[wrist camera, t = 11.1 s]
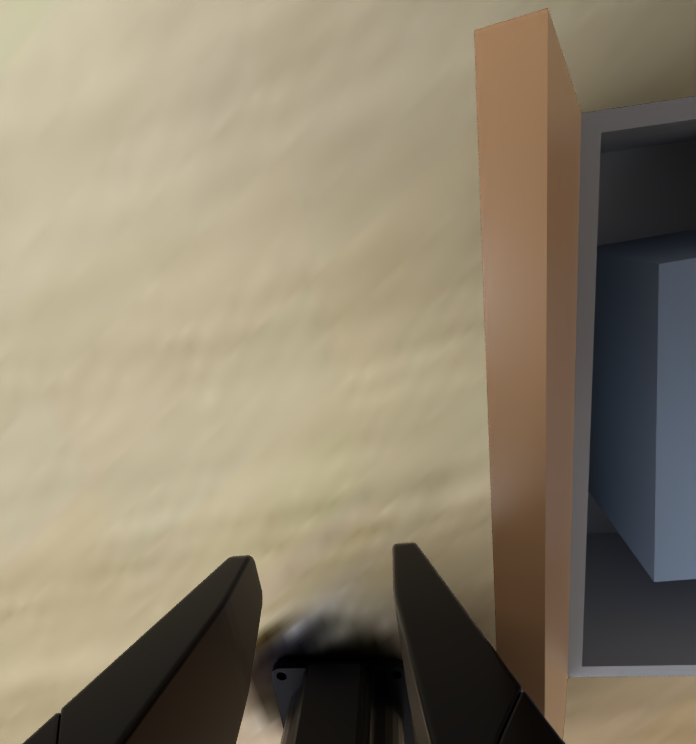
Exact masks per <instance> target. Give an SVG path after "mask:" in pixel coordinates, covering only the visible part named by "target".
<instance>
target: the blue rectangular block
mask: <svg viewBox="0 0 696 744" xmlns="http://www.w3.org/2000/svg"><path fill="white" fill-rule="evenodd" d="M588 491H589V493H590V494H591V495H592V497H593V498H594V499H595V501H596V502H597V504H598V505H599V506H600V508H601V509H602V511H603V512H604V513H605V515H606V516H607V518H608V519H609V520H610V522H611V523H612V524H613V526H614V527H615V529H616V530H617V531H618V533H619V534H620V536H621V537H622V538H623V540H624V541H625V542H626V544H627V545H628V547H629V548H630V549H631V551H632V552H633V554H634V555H635V556H636V558H637V559H638V560H639V562H640V563H641V565H642V566H643V567H644V569H645V570H646V572H647V573H648V574H649V576H650V577H651V579H652V580H653V581H654V582H662V581H675V580H687V579H696V231H692V230H687V231H681V232H675V233H670V234H664V235H658V236H652V237H647V238H641V239H635V240H629V241H623V242H618V243H612V244H606V245H600V246H597V261H596V289H595V317H594V345H593V372H592V400H591V428H590V456H589V483H588Z"/></svg>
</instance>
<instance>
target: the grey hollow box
mask: <svg viewBox="0 0 696 744" xmlns="http://www.w3.org/2000/svg"><path fill="white" fill-rule="evenodd" d="M687 230H692V231H696V96H693V97H687V98H680V99H673V100H667V101H660V102H653V103H647V104H640V105H633V106H627V107H620V108H613V109H607V110H600V111H593V112H587V113H581V153H580V195H579V236H578V277H577V318H576V360H575V401H574V442H573V483H572V525H571V566H570V607H569V649H568V677H627V676H696V579H687V580H675V581H662V582H654V581H653V580H652V579H651V577H650V576H649V574H648V573H647V572H646V570H645V569H644V567H643V566H642V565H641V563H640V562H639V560H638V559H637V558H636V556H635V555H634V554H633V552H632V551H631V549H630V548H629V547H628V545H627V544H626V542H625V541H624V540H623V538H622V537H621V536H620V534H619V533H618V531H617V530H616V529H615V527H614V526H613V524H612V523H611V522H610V520H609V519H608V518H607V516H606V515H605V513H604V512H603V511H602V509H601V508H600V506H599V505H598V504H597V502H596V501H595V499H594V498H593V497H592V495H591V494H590V493H589V491H588V483H589V456H590V428H591V400H592V372H593V345H594V317H595V289H596V261H597V246H600V245H606V244H612V243H618V242H623V241H629V240H635V239H641V238H647V237H652V236H658V235H664V234H670V233H675V232H681V231H687Z"/></svg>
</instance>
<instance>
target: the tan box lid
mask: <svg viewBox="0 0 696 744" xmlns="http://www.w3.org/2000/svg"><path fill="white" fill-rule="evenodd" d="M474 37H475V65H476V92H477V120H478V148H479V175H480V203H481V230H482V258H483V286H484V313H485V341H486V369H487V396H488V424H489V452H490V479H491V507H492V534H493V562H494V590H495V617H496V645H497V654H498V655H499V657H500V658H501V659H502V661H503V662H504V663H505V665H506V666H507V667H508V669H509V670H510V672H511V673H512V674H513V676H514V677H515V678H516V680H517V681H518V682H519V684H520V685H521V686H522V688H523V692H526V693H527V694H528V696H529V697H530V698H531V700H532V701H533V702H534V704H535V705H536V706H537V708H538V709H539V710H540V712H541V713H542V715H543V716H544V717H545V718H546V720H547V721H548V722H549V724H550V725H551V726H552V727H553V729H554V730H555V731H556V733H557V734H558V735H559V736H560V738H561V739H562V740H563V734H564V721H565V708H566V695H567V682H568V649H569V607H570V566H571V525H572V483H573V442H574V401H575V360H576V318H577V277H578V236H579V195H580V153H581V110H580V107H579V104H578V100H577V97H576V94H575V91H574V88H573V85H572V82H571V79H570V75H569V72H568V69H567V66H566V63H565V60H564V57H563V54H562V51H561V47H560V44H559V41H558V38H557V35H556V32H555V29H554V26H553V22H552V19H551V16H550V13H549V10H548V8H546V9H543V10H540V11H537V12H533V13H530V14H527V15H524V16H520V17H517V18H514V19H511V20H507V21H504V22H501V23H497V24H494V25H491V26H488V27H484V28H481V29H478V30H475V31H474Z"/></svg>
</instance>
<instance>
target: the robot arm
mask: <svg viewBox="0 0 696 744" xmlns="http://www.w3.org/2000/svg"><path fill="white" fill-rule="evenodd" d="M393 589H394V599H395V606H396V614H397V621H398V628H399V635H400V643H401V650H402V657H403V661H401V660H398V659H372V660H313V661H279V662H277V663H275V664H274V666H273V670H272V675H271V677H272V681H273V685H274V690H275V694H276V698H277V703H278V707H279V711H280V716H281V720H282V724H283V729H284V730H283V735H282V739H281V744H416V743H415V735H416V740H417V744H565V743H564V741H563V740H562V739H561V738H560V736H559V735H558V734H557V733H556V731H555V730H554V729H553V727H552V726H551V725H550V724H549V722H548V721H547V720H546V718H545V717H544V716H543V715H542V713H541V712H540V710H539V709H538V708H537V706H536V705H535V704H534V702H533V701H532V700H531V698H530V697H529V696H528V694H527V693H526V692H523V688H522V686H521V685H520V684H519V682H518V681H517V680H516V678H515V677H514V676H513V674H512V673H511V672H510V670H509V669H508V667H507V666H506V665H505V663H504V662H503V661H502V659H501V658H500V657H499V655H498V654H497V653H496V651H495V650H494V648H493V647H492V646H491V644H490V643H489V642H488V640H487V639H486V638H485V636H484V635H483V634H482V632H481V631H480V629H479V628H478V627H477V625H476V624H475V623H474V621H473V620H472V619H471V617H470V616H469V615H468V613H467V612H466V610H465V609H464V608H463V606H462V605H461V604H460V602H459V601H458V600H457V598H456V597H455V596H454V594H453V593H452V591H451V590H450V589H449V587H448V586H447V585H446V583H445V582H444V581H443V579H442V578H441V577H440V575H439V574H438V572H437V571H436V570H435V568H434V567H433V566H432V564H431V563H430V562H429V560H428V559H427V558H426V556H425V555H424V553H423V552H422V551H421V549H420V548H419V547H418V545H417V544H416V543H412V542H411V543H399V544H395V545H393ZM261 609H262V589H261V585H260V581H259V577H258V573H257V569H256V565H255V561H254V559H253V557H251V556H250V555H245V556H233V557H230V558H228V559H227V560H226V561H225V562H223V563H222V564H221V565H220V566H219V567H218V568H217V569H216V570H215V571H214V572H212V573H211V574H210V575H209V576H208V577H207V578H206V579H205V580H204V581H202V582H201V583H200V584H199V585H198V586H197V587H196V588H195V589H194V590H192V591H191V592H190V593H189V594H188V595H187V596H186V597H185V598H184V599H183V600H181V601H180V602H179V603H178V604H177V605H176V606H175V607H174V608H173V609H171V610H170V611H169V612H168V613H167V614H166V615H165V616H164V617H163V618H161V619H160V620H159V621H158V622H157V623H156V624H155V625H154V626H153V627H152V628H150V629H149V630H148V631H147V632H146V633H145V634H144V635H143V636H142V637H140V638H139V639H138V640H137V641H136V642H135V643H134V644H133V645H132V646H130V647H129V648H128V649H127V650H126V651H125V652H124V653H123V654H122V655H121V656H119V657H118V658H117V659H116V660H115V661H114V662H113V663H112V664H111V665H109V666H108V667H107V668H106V669H105V670H104V671H103V672H102V673H101V674H99V675H98V676H97V677H96V678H95V679H94V680H93V681H92V682H91V683H89V684H88V685H87V686H86V687H85V688H84V689H83V690H82V691H81V692H80V693H78V694H77V695H76V696H75V697H74V698H73V699H72V700H71V701H70V702H68V703H67V704H66V705H65V706H64V707H63V708H62V709H61V714H60V713H56V714H55V715H54V716H53V717H52V718H50V719H49V720H48V721H47V722H46V723H45V724H44V725H43V726H42V727H41V728H39V729H38V730H37V731H36V732H35V733H34V734H33V735H32V736H31V737H29V738H28V739H27V740H26V741H25V742H24V743H23V744H236V741H237V737H238V733H239V729H240V725H241V721H242V717H243V714H244V710H245V706H246V701H247V697H248V693H249V687H250V681H251V675H252V669H253V662H254V655H255V649H256V642H257V635H258V629H259V622H260V615H261ZM413 724H414V726H413ZM414 729H415V735H414Z"/></svg>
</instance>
